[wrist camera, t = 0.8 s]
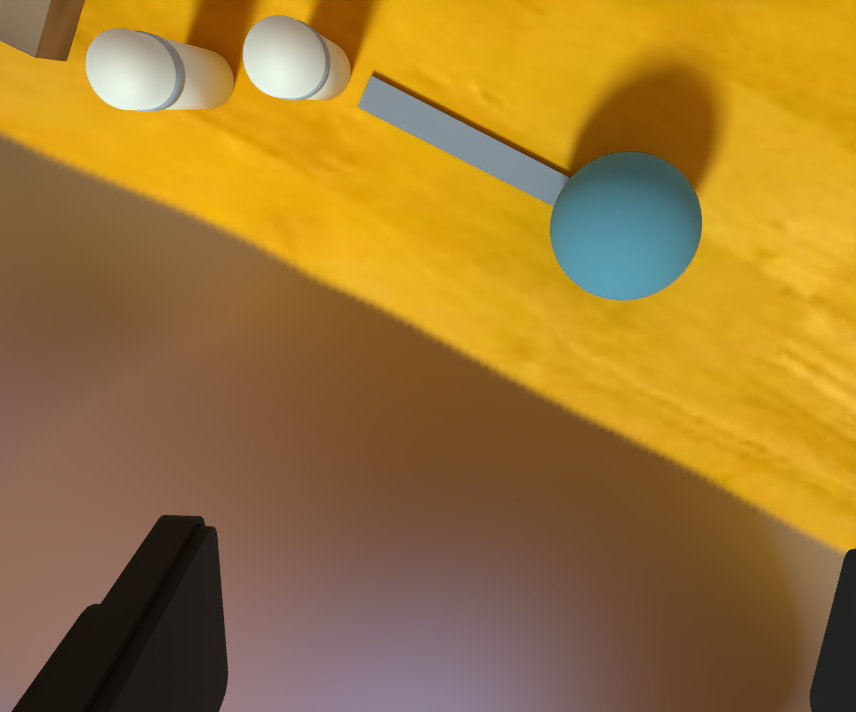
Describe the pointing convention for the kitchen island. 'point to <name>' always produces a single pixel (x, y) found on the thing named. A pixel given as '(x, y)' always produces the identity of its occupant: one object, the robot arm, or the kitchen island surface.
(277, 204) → the kitchen island surface
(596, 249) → the ball
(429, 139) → the strip
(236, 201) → the kitchen island surface
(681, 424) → the kitchen island surface
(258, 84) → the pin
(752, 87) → the kitchen island surface
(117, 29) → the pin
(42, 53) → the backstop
